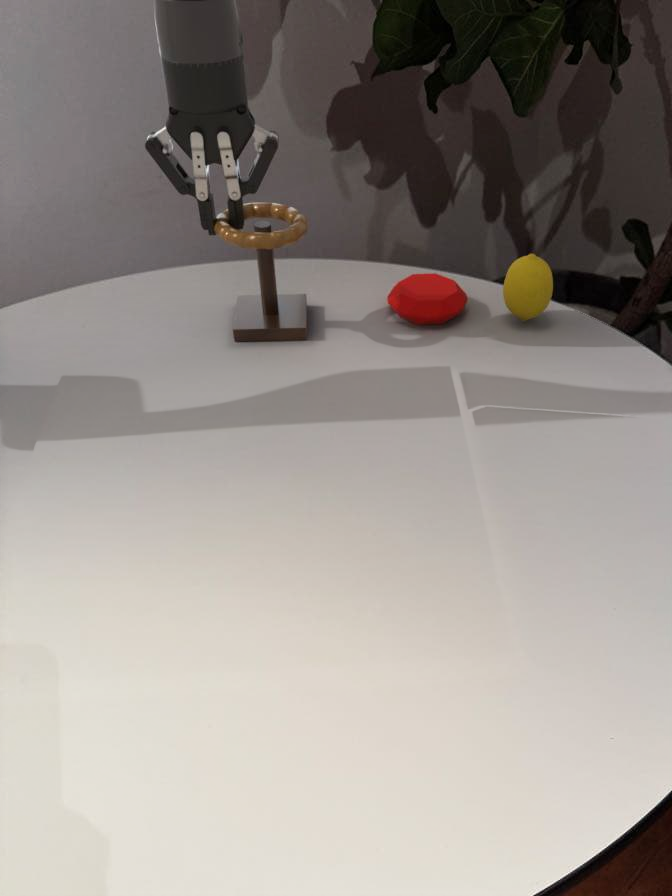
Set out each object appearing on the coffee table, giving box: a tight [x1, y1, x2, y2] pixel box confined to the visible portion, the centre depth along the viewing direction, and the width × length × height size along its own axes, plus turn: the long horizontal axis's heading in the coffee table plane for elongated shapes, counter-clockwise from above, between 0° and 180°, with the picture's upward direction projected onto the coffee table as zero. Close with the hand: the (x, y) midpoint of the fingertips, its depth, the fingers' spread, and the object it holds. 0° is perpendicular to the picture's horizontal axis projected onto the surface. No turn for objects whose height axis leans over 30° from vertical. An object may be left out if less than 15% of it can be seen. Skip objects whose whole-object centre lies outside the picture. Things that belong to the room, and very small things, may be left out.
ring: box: [214, 202, 308, 250], centre depth 92 cm, size 10×10×2 cm
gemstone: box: [386, 272, 468, 326], centre depth 101 cm, size 9×9×3 cm
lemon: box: [502, 253, 554, 322], centre depth 98 cm, size 6×6×8 cm
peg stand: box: [232, 220, 308, 343], centre depth 96 cm, size 8×8×12 cm
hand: (224, 231), depth 92 cm, fingers closed on ring, 2 cm apart
